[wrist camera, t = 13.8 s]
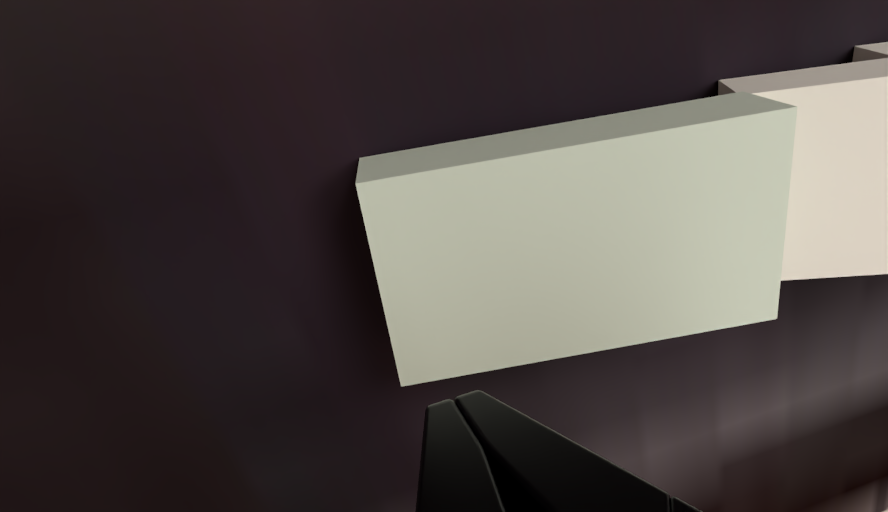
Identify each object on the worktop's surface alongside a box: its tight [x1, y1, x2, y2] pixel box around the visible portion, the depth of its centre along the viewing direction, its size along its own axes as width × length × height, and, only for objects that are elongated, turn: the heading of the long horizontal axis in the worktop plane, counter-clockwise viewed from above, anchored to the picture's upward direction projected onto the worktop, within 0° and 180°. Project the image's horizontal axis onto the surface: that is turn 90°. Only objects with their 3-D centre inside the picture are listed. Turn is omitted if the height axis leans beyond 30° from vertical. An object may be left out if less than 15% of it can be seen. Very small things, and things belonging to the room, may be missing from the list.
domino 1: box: [355, 91, 797, 387], centre depth 14 cm, size 2×5×9 cm
